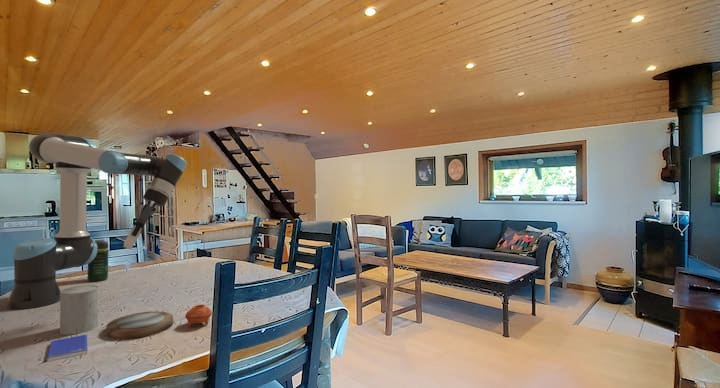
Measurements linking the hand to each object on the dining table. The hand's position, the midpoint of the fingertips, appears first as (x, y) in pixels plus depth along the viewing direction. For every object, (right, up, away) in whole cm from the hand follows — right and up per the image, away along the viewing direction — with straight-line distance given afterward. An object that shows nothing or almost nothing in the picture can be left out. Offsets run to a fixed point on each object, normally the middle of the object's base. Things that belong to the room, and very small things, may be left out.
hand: (127, 246), depth 124 cm
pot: (+28, -24, -7) cm, 37 cm away
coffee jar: (-44, -23, +47) cm, 69 cm away
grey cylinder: (-8, -24, -12) cm, 28 cm away
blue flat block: (0, -25, -26) cm, 36 cm away
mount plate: (+11, -24, -10) cm, 28 cm away
